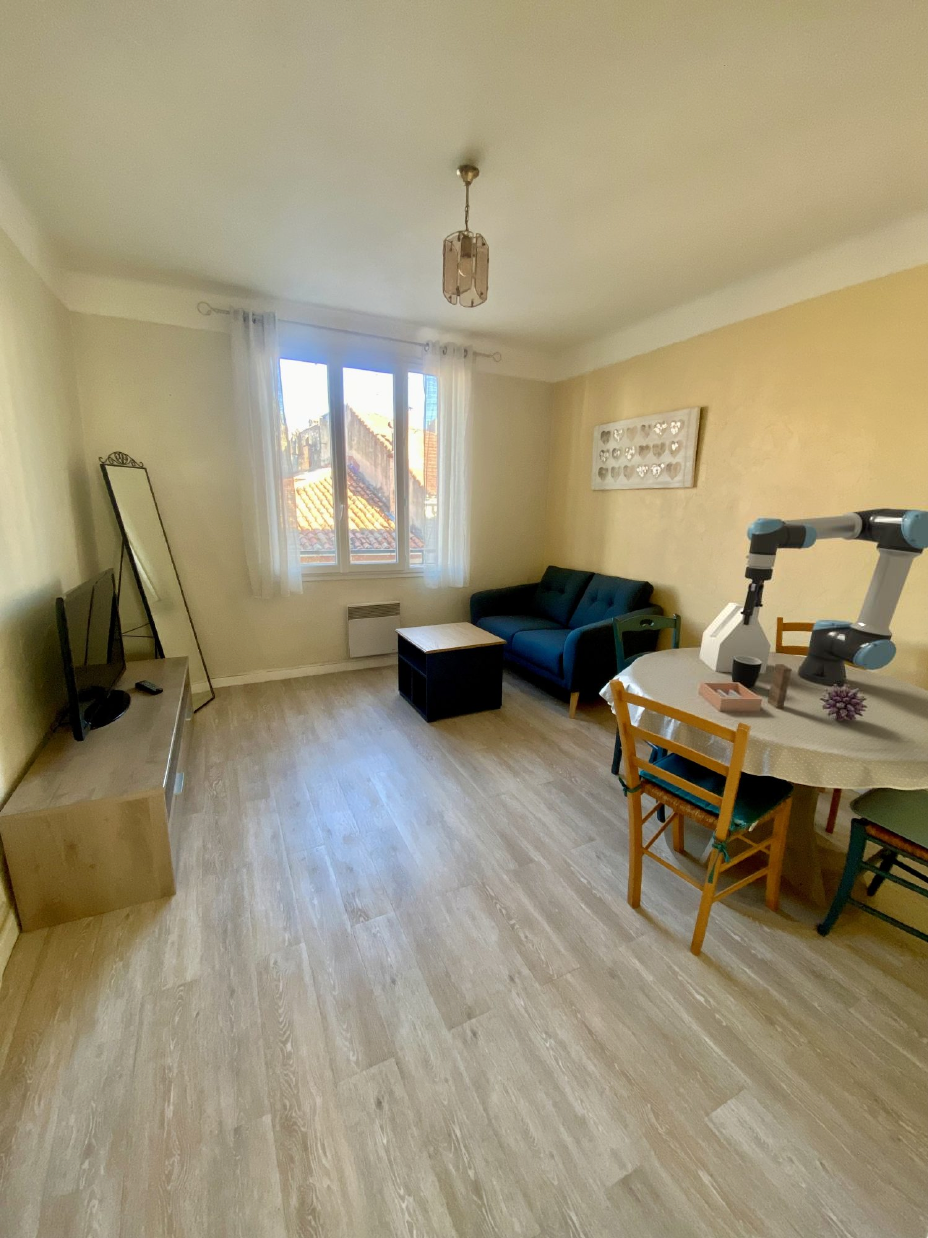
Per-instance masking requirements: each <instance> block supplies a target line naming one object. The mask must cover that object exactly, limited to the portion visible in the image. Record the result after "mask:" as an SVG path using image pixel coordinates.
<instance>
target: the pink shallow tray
mask: <svg viewBox="0 0 928 1238" xmlns="http://www.w3.org/2000/svg"><path fill="white" fill-rule="evenodd" d="M698 694H699V695H700V696H701V697H702V698H703V699H704V700H706V701H707V702H708V703H709V704H710V706H712V707H714V708H715V709H716V710H717V711H718V712H754V713H755V712H758V713H759V712H760V711H761V708H762V707H761V706H762V701H763V698H762V697H761V696H759V695H757V694H755V692H753V691H752V690H750V689H747V688H746V687H744V686H743V685H741V684H740V683H738V682H732V681H731V682H730V681H729V682H727V681H724V682H722V681H717V682H716V681H715V682H714V681H713V682H712V681H707V682H705V681H702V682H700V685H699V692H698Z"/></svg>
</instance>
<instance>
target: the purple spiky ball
mask: <svg viewBox="0 0 928 1238" xmlns="http://www.w3.org/2000/svg"><path fill="white" fill-rule="evenodd" d="M831 688H832V690H831V689H828V688H826V687H825V688H824V690H825V691H826V693H822V696H820V697H819V700H820V701H822V702H824V704H822V705H821V707H822V709H823V710H828V713H827V714H826V716H828V717H830V716H831V715H835V716H836V717H835V718H836V720H838V722H843V721H844V719H845V718H847V719H849V721H850V722H853V721H854V720H856V719H857V717H856V716H860V717H861V718H862V717H863V716H864V714H862V712H866V709H867V708H868V705H866V704H864V703H863V702H864V701H867V698H866V696H865V695H858V693H859V691H860V689H859V688H856V689H852V690H851V689H850V685H849V684H846V683H845V684H844V685H842V687H840V686H837V685H836V684H835V685H834V686H833V685H832V686H831Z"/></svg>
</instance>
